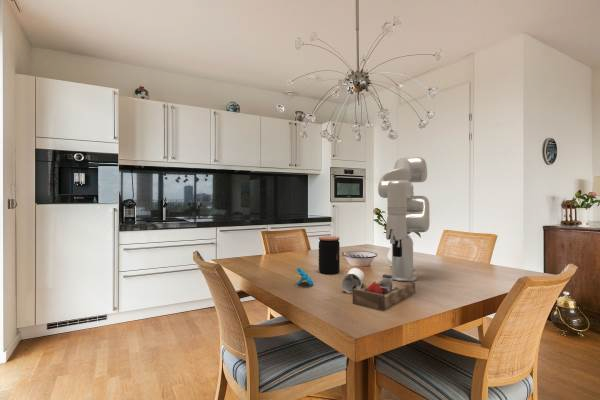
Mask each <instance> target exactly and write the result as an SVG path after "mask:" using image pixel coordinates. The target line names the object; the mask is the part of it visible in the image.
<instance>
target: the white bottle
mask: <svg viewBox="0 0 600 400" xmlns="http://www.w3.org/2000/svg"><path fill="white" fill-rule="evenodd" d="M364 282H365V274H364V272H363V270H362V269H360V268H359V267H358V268H357V267H353V268H350V269H349V270H348V271H347V274H345V275H344V276H343V277H342V279H341V282H340V284H341V288H342V290H343V291H344V292H346V293H348V294H353V289H359V290H360V289H362V287H363V283H364ZM354 287H355V288H354ZM350 290H351V291H350Z"/></svg>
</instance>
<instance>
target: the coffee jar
mask: <svg viewBox="0 0 600 400" xmlns="http://www.w3.org/2000/svg"><path fill="white" fill-rule="evenodd" d="M318 240H319V242H318V272H319V273H320V274H323V275H336V274H339V272H340V270H341V269H340V267H341V265H340V262H341V261H340V250H341V249H340V244H341V243H340V237H339V236H335V235H334V236H332V235H330V236H329V235H327V236H326V235H324V236H323V235H322V236H319V237H318Z"/></svg>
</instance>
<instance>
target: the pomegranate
mask: <svg viewBox="0 0 600 400" xmlns="http://www.w3.org/2000/svg"><path fill="white" fill-rule="evenodd" d="M368 286H369V287H368V288H367V291H369V292H374V293H379V294H383V291H382V288H381V287H380V286H379V285H378V284H377V281H376V280H375V281H373V282H372V283H371V284H369V285H368Z"/></svg>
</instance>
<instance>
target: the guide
mask: <svg viewBox="0 0 600 400" xmlns="http://www.w3.org/2000/svg"><path fill="white" fill-rule="evenodd" d="M376 283H377V284H378V285H379V286H381V287H383V279H382V280H380V281H378V282H377V281H376ZM369 286H370V285H368V286H365V287H363V288H362V287H361V289H360V290H359V289H355V288H353V289H352V291H353V293H352V304H354V305H358V306H362V307H365V308H369V309H375V310H379V311H382V312H383V311H384V310H386V309H388V308H390V307H392V306H394V305H395V304H397V303H399V302H401V301H403V300H404V299H406V298H408V297H410V296H412V295H414V294H416V282H414V281H410V282H409V283H407V284H405V285H403V286H401V287H398V289H396V290H394V291H391V292H389V293H387V294H385V295H384V294H379V293H374V292H369V291H367V288H368V287H369Z"/></svg>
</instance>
